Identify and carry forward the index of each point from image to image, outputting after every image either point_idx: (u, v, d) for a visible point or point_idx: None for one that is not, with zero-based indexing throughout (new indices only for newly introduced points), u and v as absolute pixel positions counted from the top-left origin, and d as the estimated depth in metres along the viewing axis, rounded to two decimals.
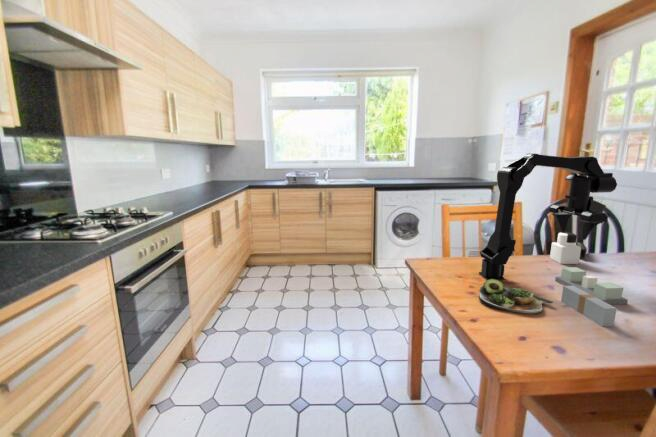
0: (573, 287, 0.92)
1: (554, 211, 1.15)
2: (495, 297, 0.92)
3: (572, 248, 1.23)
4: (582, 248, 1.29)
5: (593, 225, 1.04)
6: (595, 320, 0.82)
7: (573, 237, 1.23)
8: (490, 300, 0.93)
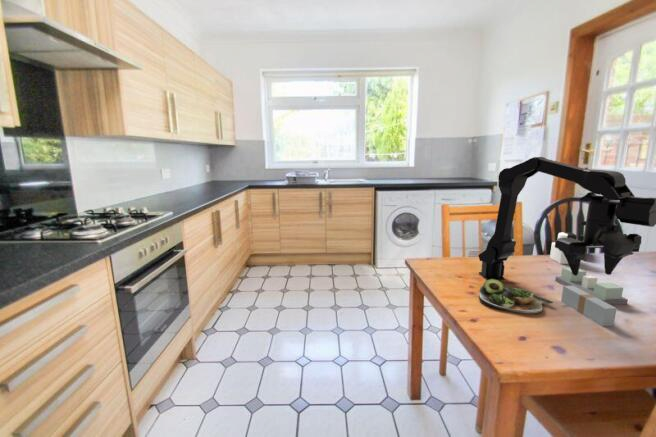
0: (573, 287, 0.92)
1: None
2: (495, 297, 0.92)
3: None
4: None
5: (574, 257, 0.83)
6: (595, 320, 0.82)
7: (573, 237, 1.23)
8: (490, 300, 0.93)
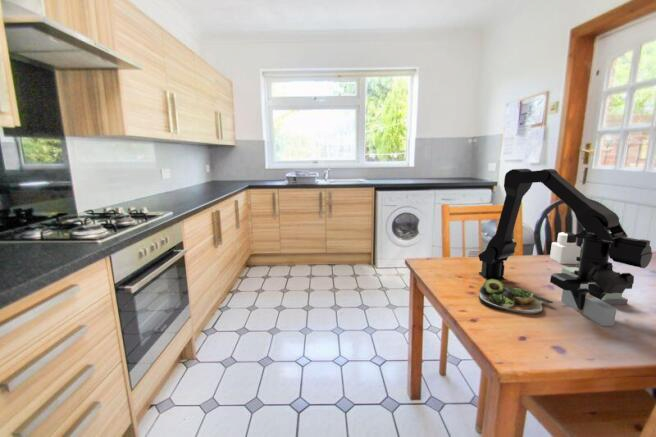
0: None
1: None
2: (495, 297, 0.92)
3: (572, 248, 1.23)
4: None
5: (579, 293, 0.85)
6: (595, 320, 0.82)
7: (573, 237, 1.23)
8: (490, 300, 0.93)
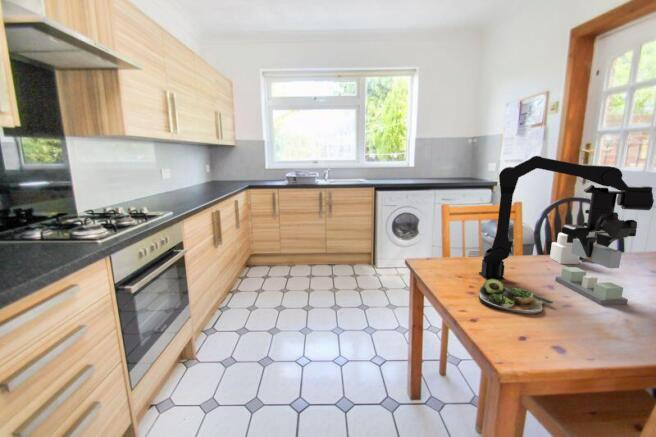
0: None
1: None
2: (495, 297, 0.92)
3: None
4: None
5: (588, 241, 0.95)
6: (602, 263, 0.92)
7: (573, 237, 1.23)
8: (490, 300, 0.93)
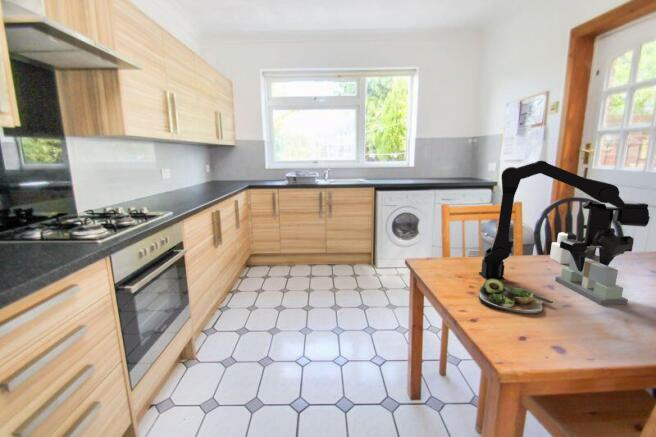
0: None
1: None
2: (495, 297, 0.92)
3: None
4: None
5: (579, 256, 0.97)
6: (599, 281, 0.94)
7: (573, 237, 1.23)
8: (490, 300, 0.93)
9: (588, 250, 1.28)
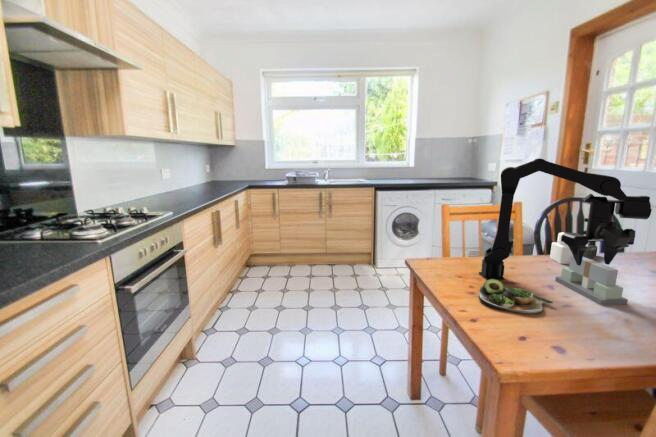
0: None
1: None
2: (495, 297, 0.92)
3: None
4: None
5: (578, 249, 0.96)
6: (599, 281, 0.94)
7: None
8: (490, 300, 0.93)
9: (588, 250, 1.28)
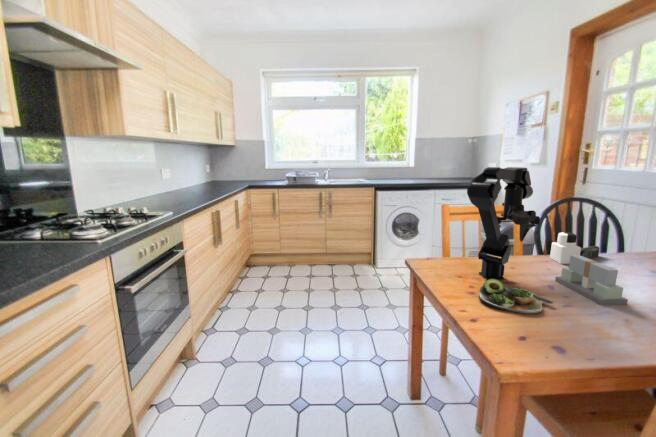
0: (579, 256, 1.04)
1: None
2: (495, 297, 0.92)
3: (572, 248, 1.23)
4: (582, 249, 1.28)
5: None
6: (599, 281, 0.94)
7: (573, 237, 1.23)
8: (490, 300, 0.93)
9: (588, 250, 1.28)
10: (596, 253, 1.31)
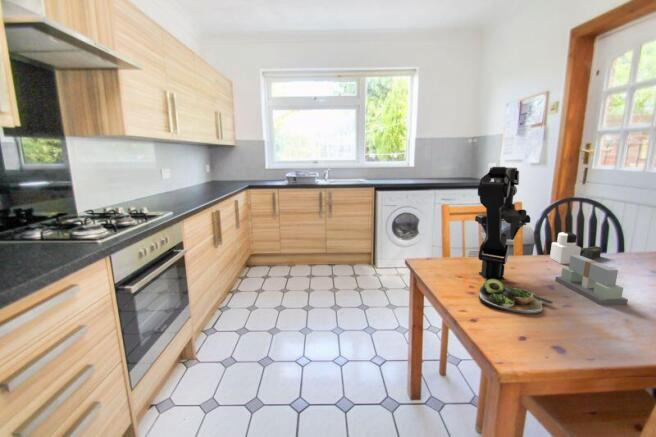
0: (579, 256, 1.04)
1: None
2: (495, 297, 0.92)
3: (572, 248, 1.23)
4: (581, 249, 1.28)
5: None
6: (599, 281, 0.94)
7: (573, 237, 1.23)
8: (490, 300, 0.93)
9: (588, 251, 1.27)
10: (597, 253, 1.30)
